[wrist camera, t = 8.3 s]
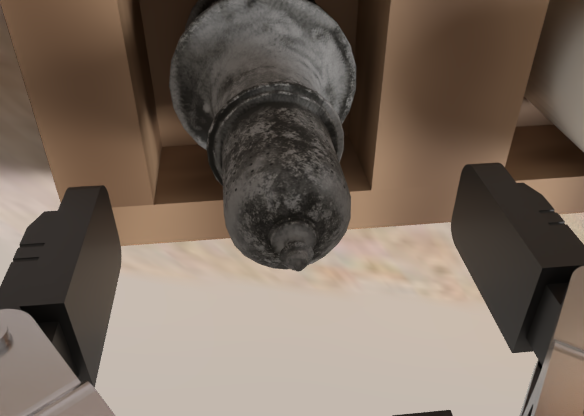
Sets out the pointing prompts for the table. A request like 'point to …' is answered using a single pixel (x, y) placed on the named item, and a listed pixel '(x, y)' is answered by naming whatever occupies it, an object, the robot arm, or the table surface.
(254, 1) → the stone chess piece
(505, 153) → the rack
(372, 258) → the table surface
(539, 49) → the pepper pot
